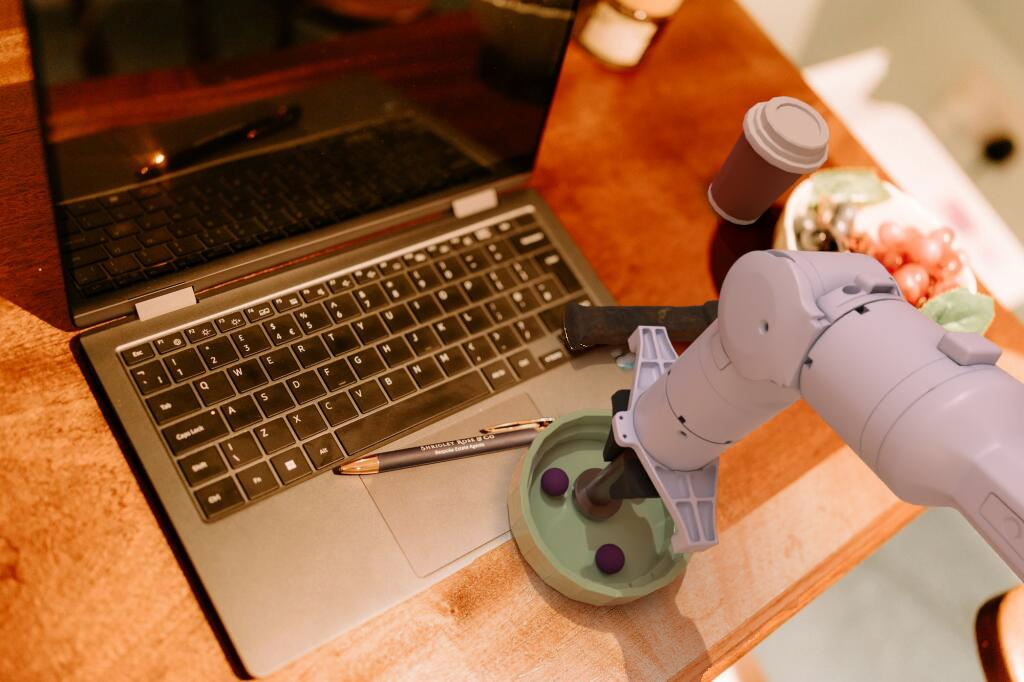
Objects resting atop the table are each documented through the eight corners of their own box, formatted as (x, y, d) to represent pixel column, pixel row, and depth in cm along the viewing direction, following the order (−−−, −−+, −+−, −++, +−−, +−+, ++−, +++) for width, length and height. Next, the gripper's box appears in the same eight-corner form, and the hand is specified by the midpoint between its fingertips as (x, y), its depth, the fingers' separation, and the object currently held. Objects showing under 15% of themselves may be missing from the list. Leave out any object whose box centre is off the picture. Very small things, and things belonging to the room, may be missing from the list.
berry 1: (565, 499, 55) (575, 491, 53) (539, 500, 54) (547, 491, 52) (561, 472, 56) (570, 463, 54) (535, 473, 55) (543, 463, 53)
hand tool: (563, 356, 62) (581, 330, 58) (556, 317, 64) (573, 290, 60) (747, 359, 68) (775, 336, 64) (736, 323, 69) (762, 298, 66)
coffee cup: (696, 220, 75) (757, 138, 65) (696, 161, 80) (754, 76, 70) (773, 244, 76) (845, 167, 66) (769, 184, 81) (836, 104, 71)
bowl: (694, 599, 54) (720, 589, 51) (517, 613, 50) (533, 604, 47) (655, 427, 61) (676, 409, 58) (497, 428, 57) (510, 408, 54)
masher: (623, 519, 55) (669, 487, 48) (576, 521, 54) (615, 489, 47) (614, 470, 57) (657, 432, 50) (568, 471, 56) (605, 433, 49)
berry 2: (620, 576, 53) (632, 569, 51) (593, 578, 52) (604, 571, 51) (615, 546, 54) (626, 539, 52) (588, 548, 53) (599, 540, 52)
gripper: (623, 286, 42) (553, 384, 54) (676, 527, 35) (583, 581, 47) (725, 292, 44) (637, 385, 55) (795, 521, 37) (678, 575, 49)
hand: (619, 475), depth 51 cm, fingers closed on masher, 2 cm apart
